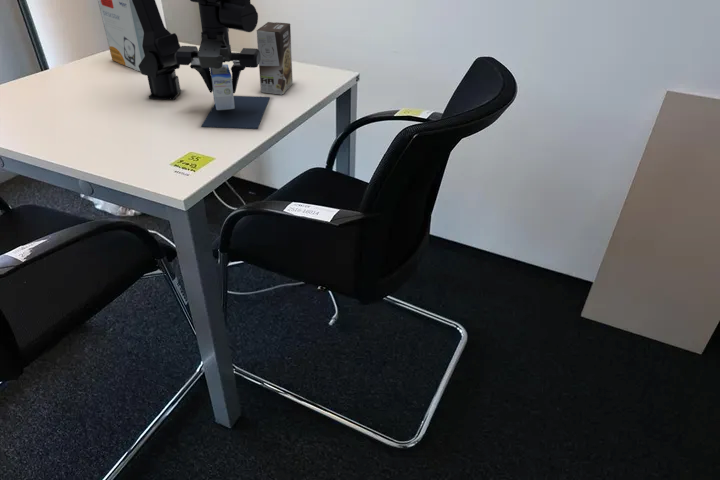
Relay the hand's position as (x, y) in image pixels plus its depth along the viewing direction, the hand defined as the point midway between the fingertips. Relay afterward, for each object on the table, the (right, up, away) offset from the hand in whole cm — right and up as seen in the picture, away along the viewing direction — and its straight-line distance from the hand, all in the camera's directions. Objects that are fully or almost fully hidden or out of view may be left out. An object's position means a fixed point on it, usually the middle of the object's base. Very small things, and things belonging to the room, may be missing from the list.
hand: (222, 92), depth 129 cm
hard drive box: (-32, +16, +29) cm, 46 cm away
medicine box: (0, -3, +2) cm, 3 cm away
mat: (+3, -4, +3) cm, 6 cm away
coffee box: (+11, +6, +17) cm, 21 cm away
